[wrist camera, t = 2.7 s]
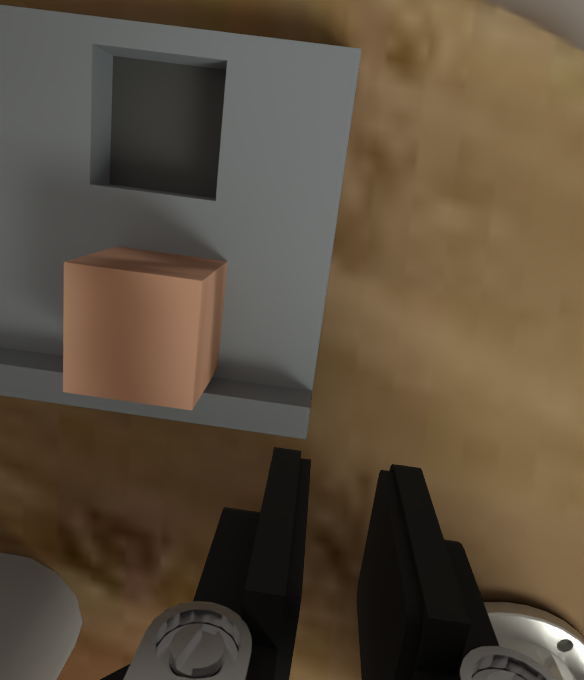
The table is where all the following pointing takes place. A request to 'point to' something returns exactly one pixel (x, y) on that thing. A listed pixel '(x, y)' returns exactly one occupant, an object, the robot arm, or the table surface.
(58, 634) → the cup
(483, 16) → the table surface
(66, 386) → the block
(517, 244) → the table surface
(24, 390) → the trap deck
